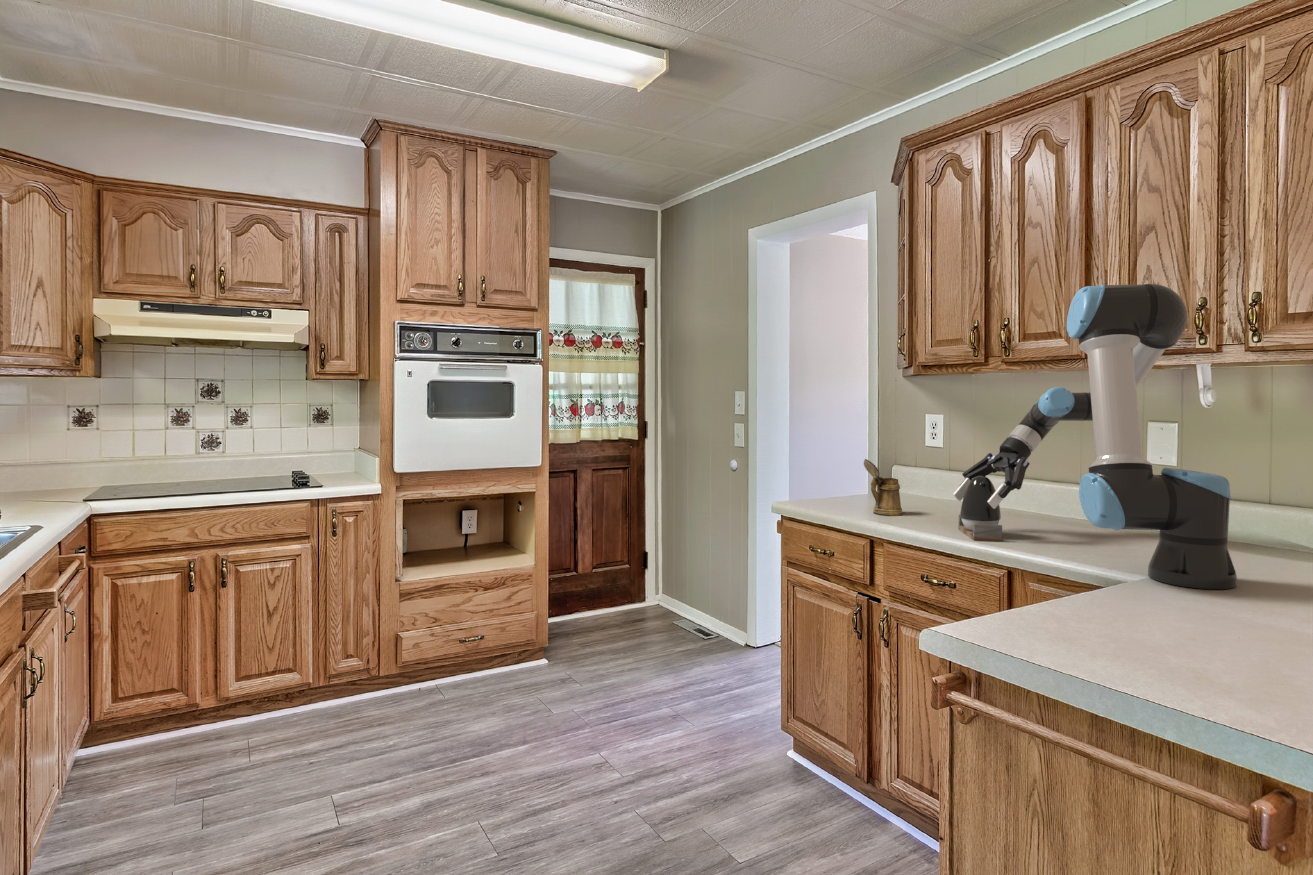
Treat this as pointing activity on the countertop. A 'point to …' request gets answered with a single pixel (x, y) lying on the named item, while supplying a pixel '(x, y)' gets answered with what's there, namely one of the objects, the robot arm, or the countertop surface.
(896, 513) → the wooden mug
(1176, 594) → the countertop surface
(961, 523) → the walnut riser
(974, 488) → the black egg roly-poly
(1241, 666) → the countertop surface
